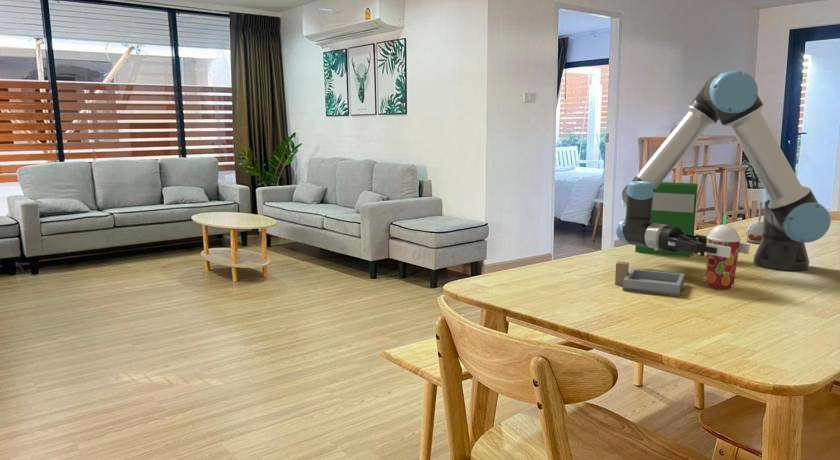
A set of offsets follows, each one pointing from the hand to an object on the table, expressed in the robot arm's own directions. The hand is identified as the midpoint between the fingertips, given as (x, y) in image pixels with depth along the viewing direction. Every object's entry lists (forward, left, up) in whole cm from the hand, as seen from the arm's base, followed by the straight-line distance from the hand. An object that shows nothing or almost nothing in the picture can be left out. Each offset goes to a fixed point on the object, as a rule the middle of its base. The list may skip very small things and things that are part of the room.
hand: (739, 250), depth 169 cm
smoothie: (+4, -2, -11) cm, 12 cm away
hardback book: (+23, -45, -11) cm, 52 cm away
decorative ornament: (-6, -81, -11) cm, 82 cm away
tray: (+22, +6, -11) cm, 25 cm away
